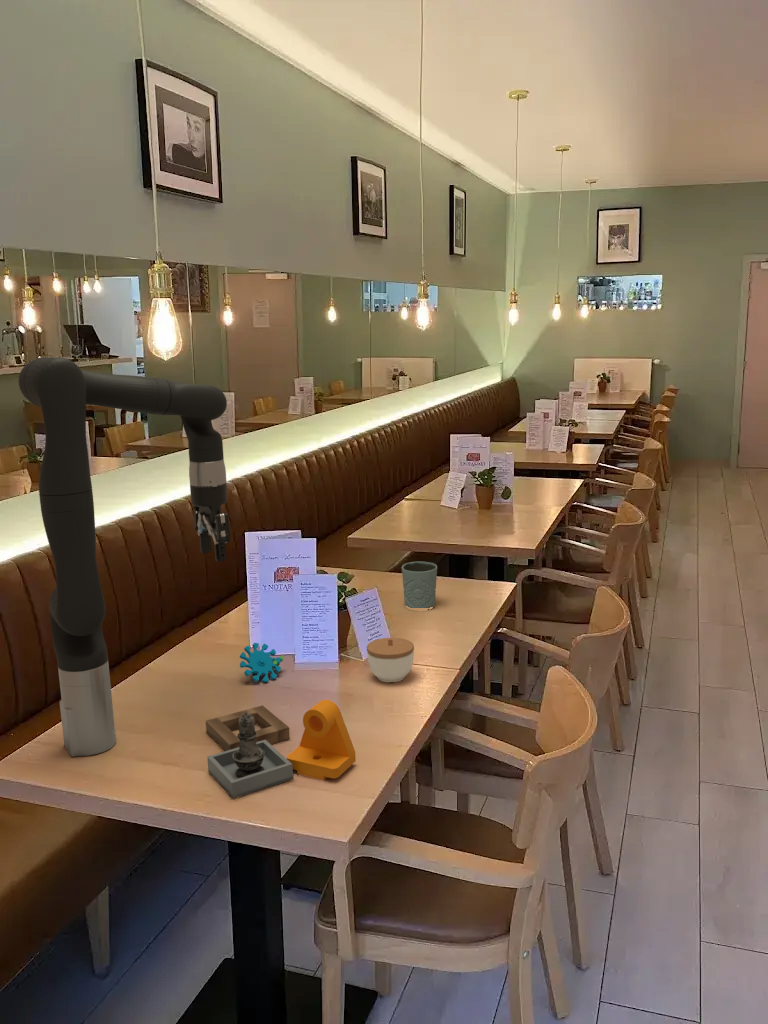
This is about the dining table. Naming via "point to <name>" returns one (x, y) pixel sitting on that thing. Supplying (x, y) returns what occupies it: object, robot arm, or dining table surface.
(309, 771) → the bracket
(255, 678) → the teal virus toy
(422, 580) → the green embossed pot
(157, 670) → the dining table surface
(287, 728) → the frame
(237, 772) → the dark grey chess piece
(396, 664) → the lidded jar
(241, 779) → the grey tray
